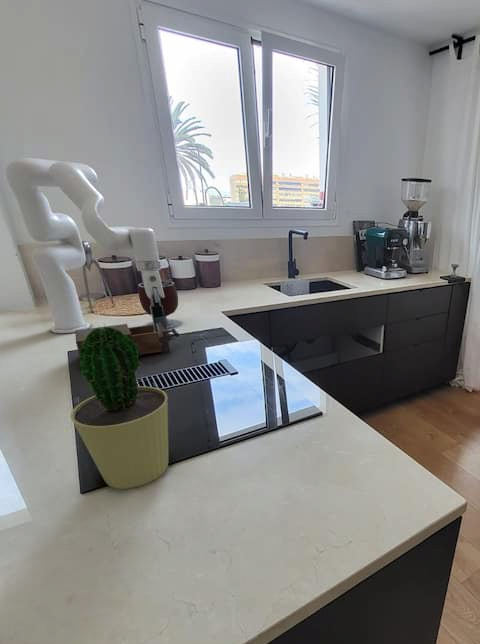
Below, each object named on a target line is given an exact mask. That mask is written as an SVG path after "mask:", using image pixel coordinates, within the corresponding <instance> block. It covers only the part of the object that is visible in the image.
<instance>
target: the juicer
mask: <svg viewBox="0 0 480 644" xmlns="http://www.w3.org/2000/svg"><path fill="white" fill-rule="evenodd" d="M81 241H82V240H81ZM82 245H83V248H84V252H85V256H86V261H85V264H84V265H83V266H82V273H83V274H82V275H83V281H84V287H85V288H84V289H85V292H86V297H87V302H88V306H89V309H90V312H91V313H93V312H94V310H93V305H92V300H91V295H90V289H89V283H88V276H87V270H88V271H89V272H91V269H92V265H95V267H96V269H97V270H98V273H99V275H100V276H101V278H102V281H103V283H104V285H105V288H106V290H107V293H108V296H109V299H110V303H111V305H112V304H114V305H112V308H115V302H114V299H113V296H112V293H111V289H110V287H109V284H108V281H107V279H106V277H105V275H104V272H103V270H102V268H101V266H100V263H98V260H97V259H96V258H95V257H94V258H93V255H92V253H93V252H92V248H91V245H90V243H89V242H87V241H82Z"/></svg>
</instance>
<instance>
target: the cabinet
mask: <svg viewBox="0 0 480 644" xmlns="http://www.w3.org/2000/svg"><path fill="white" fill-rule="evenodd" d="M120 326H121V327H120ZM104 327H107V328H109V327H110V328H114V329H118V328H120V329H118V330H119V331H121V332H123V334H124V335H125V334H126V335H127V334H128V333H129V334H128V335H127V336H129V337H128V338H129V339H130V340H131V338H132V335H131V332H130V330H129V328H130V327H129V326H128V323H122V324H114V325H107V326H106V325H105V326H99V327H98V326H97V327H91V328H90V327H89V328H88V329H82V330H75V332H74V334H75V344H76V347H77V348H76V349H78V350H77V351H78V356H80V354H79V353H80V351H81V348H82V345H83V343H85V339H86V337H87V336H88V334H89V331H90V332H92V331H93V330H94V329H97V328H99V329H101V328H103V329H104ZM88 330H89V331H88ZM125 331H126V332H125ZM124 332H125V333H124ZM126 335H125V336H126ZM81 339H82V340H83V341H84V342H82V340H81ZM76 341H77V342H76ZM80 341H81V342H82V343H81V342H80ZM131 341H132V340H131ZM79 343H80V344H81V345H80V344H79Z"/></svg>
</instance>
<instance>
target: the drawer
mask: <svg viewBox="0 0 480 644" xmlns="http://www.w3.org/2000/svg"><path fill="white" fill-rule="evenodd" d="M128 328H129V330H130V332H131V335H132V340H133V343H134V344H135V345H136V347H137V350H138V351H137V352H139V353H138V356H140V355H141V356H142V355H146V354H147V355H149V354H154V353H160V352H162V348H163V350H164V351H165V352H166V353H170V352H171V349H170V344H169V339H168V338H167V337H171V338H172V337H175V338H179V336H180V333H179V332H178V330H177V329H176V328H175V327H174V328H171V329H167V331H166V330H165V329H164V327H163V326H162V324H161V323H157V328H158V332H155V330H154V327H153V325H147V324H146V325H139V326H138V325H137V326H132V327H128ZM168 332H169V334H170V333H171V334H170V335H167V333H168ZM158 334H159V336H158ZM159 339H160V341H159ZM136 341H137V342H138V343H137V342H136ZM140 343H141V344H140ZM137 344H138V345H137ZM161 347H162V348H161Z"/></svg>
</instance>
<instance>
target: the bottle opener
mask: <svg viewBox="0 0 480 644" xmlns="http://www.w3.org/2000/svg"><path fill="white" fill-rule="evenodd" d="M161 306H162V305H161ZM152 307H153V306H152V303H151V306H150V310H151V315H150V316H151V319H152V322H153V325H154V332H158V328H157V323H161V324H162V326H163V327H164V329H165V330H166V331H168V329H167V327H166V322H165V316H164V311H163V306H162V311H163V317H157V318H154V316H153V311H152ZM167 335H170V332H168V333H167ZM158 336H159V334H158ZM167 338H168V340H172V339H173V338H172V336H171V337H167ZM159 342H160V339H159Z"/></svg>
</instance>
